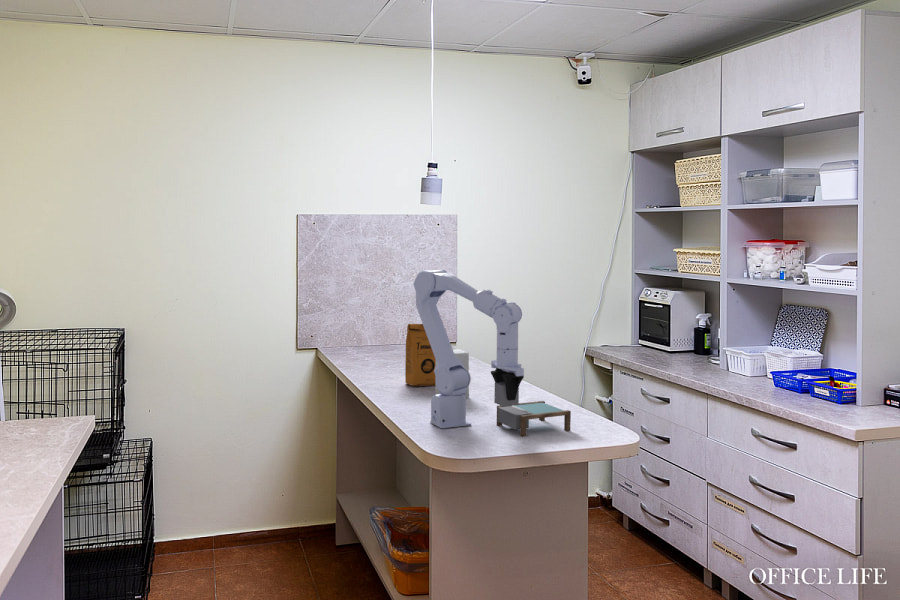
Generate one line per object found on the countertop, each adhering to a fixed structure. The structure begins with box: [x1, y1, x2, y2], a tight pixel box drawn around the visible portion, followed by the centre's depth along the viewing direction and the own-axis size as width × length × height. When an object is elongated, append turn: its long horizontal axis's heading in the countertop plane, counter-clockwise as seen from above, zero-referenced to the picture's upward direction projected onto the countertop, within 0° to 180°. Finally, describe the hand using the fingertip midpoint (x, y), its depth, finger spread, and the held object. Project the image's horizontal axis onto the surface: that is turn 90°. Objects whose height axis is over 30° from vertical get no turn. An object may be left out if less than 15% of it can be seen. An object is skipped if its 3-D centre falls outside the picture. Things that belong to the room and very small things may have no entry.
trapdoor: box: [498, 402, 565, 431], centre depth 219 cm, size 15×11×4 cm
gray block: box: [493, 382, 520, 406], centre depth 214 cm, size 5×4×6 cm
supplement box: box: [435, 348, 470, 399], centre depth 261 cm, size 9×9×15 cm
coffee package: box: [404, 323, 436, 387], centre depth 279 cm, size 10×12×22 cm
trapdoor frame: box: [496, 400, 572, 438], centre depth 220 cm, size 15×14×6 cm
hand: (506, 398), depth 214 cm, fingers closed on gray block, 4 cm apart
